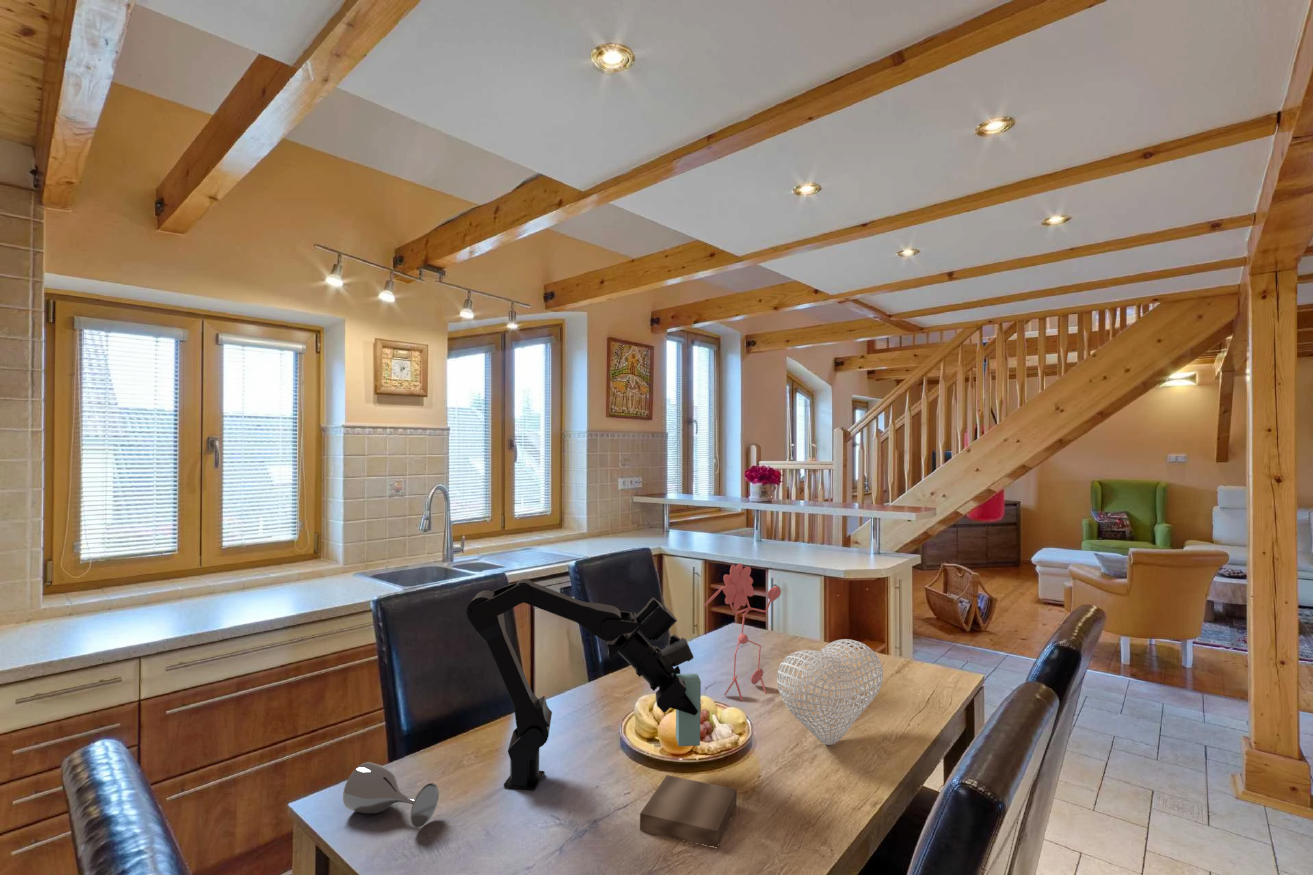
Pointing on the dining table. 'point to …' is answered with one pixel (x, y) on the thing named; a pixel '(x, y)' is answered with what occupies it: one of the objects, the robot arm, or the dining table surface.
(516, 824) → the dining table surface
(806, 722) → the heart
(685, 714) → the teal block
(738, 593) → the flower headed figure
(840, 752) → the dining table surface
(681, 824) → the walnut pedestal
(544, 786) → the dining table surface
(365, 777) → the wine glass
